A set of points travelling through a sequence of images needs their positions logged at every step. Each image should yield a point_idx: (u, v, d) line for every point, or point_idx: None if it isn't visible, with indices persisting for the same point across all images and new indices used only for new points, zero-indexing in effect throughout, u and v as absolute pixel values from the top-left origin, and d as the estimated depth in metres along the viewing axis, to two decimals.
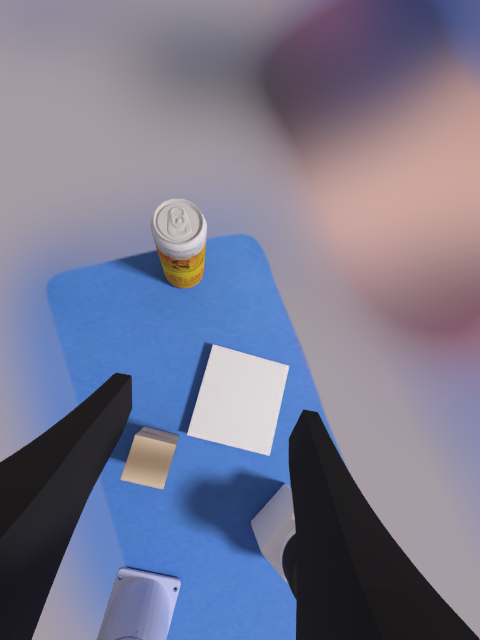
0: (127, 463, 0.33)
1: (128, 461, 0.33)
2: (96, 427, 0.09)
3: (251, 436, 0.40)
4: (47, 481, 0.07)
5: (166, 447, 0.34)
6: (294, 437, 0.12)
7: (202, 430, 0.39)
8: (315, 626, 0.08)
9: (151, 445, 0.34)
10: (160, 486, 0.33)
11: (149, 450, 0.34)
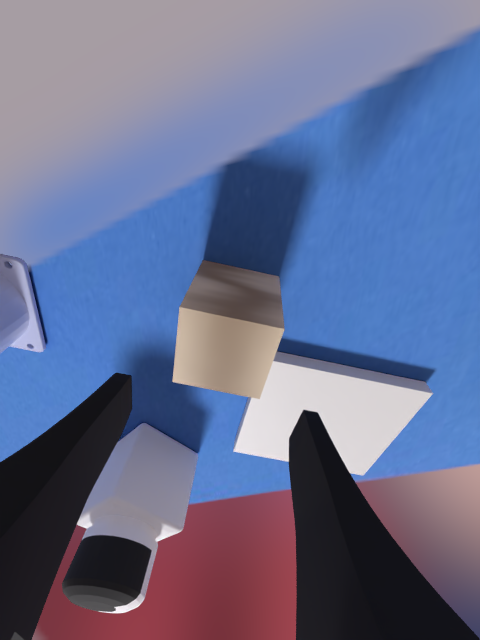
0: (217, 317, 0.13)
1: (221, 320, 0.13)
2: (96, 427, 0.09)
3: (259, 435, 0.25)
4: (47, 481, 0.07)
5: (254, 384, 0.15)
6: (294, 437, 0.12)
7: (272, 380, 0.22)
8: (315, 626, 0.08)
9: (257, 360, 0.14)
10: (177, 377, 0.16)
11: (247, 357, 0.14)
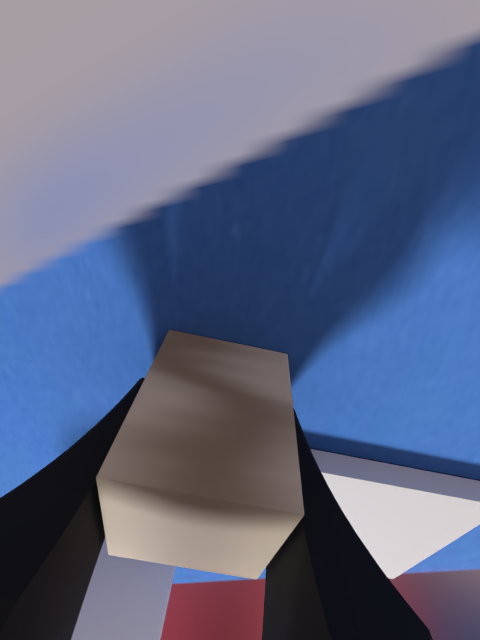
0: (172, 494, 0.07)
1: (181, 497, 0.07)
2: None
3: None
4: (89, 489, 0.07)
5: (247, 566, 0.09)
6: None
7: None
8: (278, 620, 0.07)
9: (253, 544, 0.08)
10: (115, 551, 0.09)
11: (234, 540, 0.08)
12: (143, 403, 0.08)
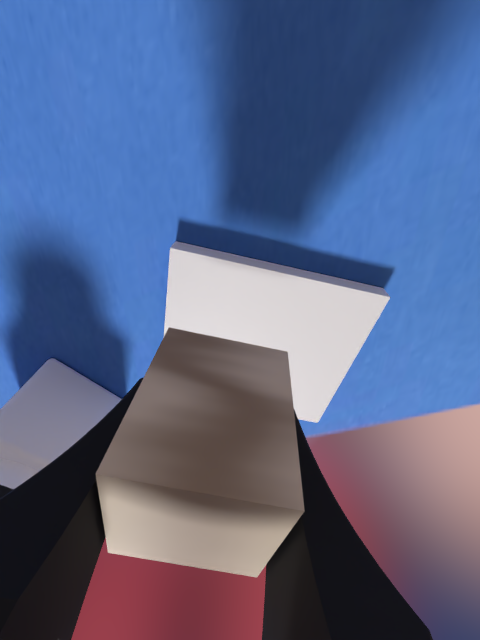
0: (171, 490, 0.07)
1: (181, 494, 0.07)
2: None
3: None
4: (90, 489, 0.07)
5: (247, 564, 0.09)
6: None
7: (186, 282, 0.17)
8: (277, 620, 0.07)
9: (253, 541, 0.08)
10: (115, 549, 0.09)
11: (234, 537, 0.08)
12: (143, 400, 0.08)
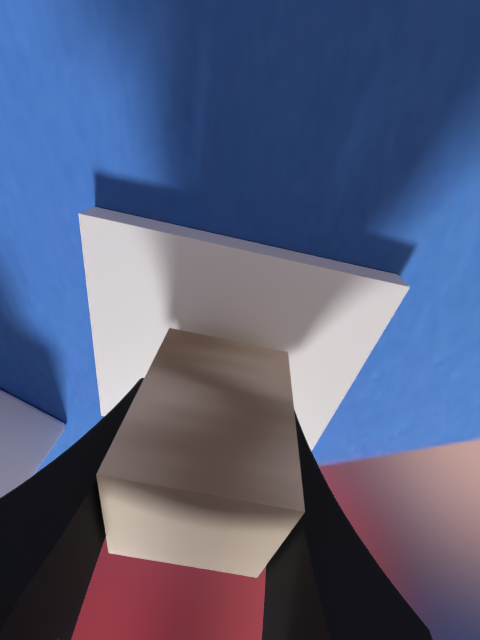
0: (172, 491, 0.07)
1: (182, 494, 0.07)
2: None
3: (131, 386, 0.15)
4: (89, 489, 0.07)
5: (248, 564, 0.09)
6: None
7: (110, 266, 0.12)
8: (277, 620, 0.07)
9: (253, 542, 0.08)
10: (115, 549, 0.09)
11: (235, 537, 0.08)
12: (143, 401, 0.08)
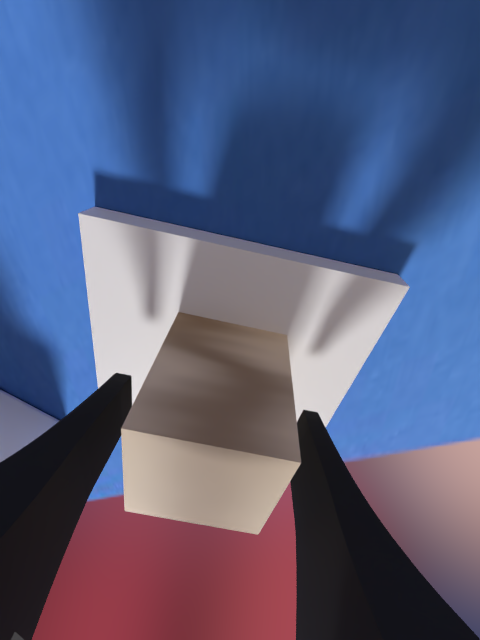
0: (186, 444, 0.08)
1: (194, 447, 0.08)
2: (96, 427, 0.09)
3: None
4: (47, 481, 0.07)
5: (250, 520, 0.10)
6: None
7: (110, 266, 0.12)
8: (315, 626, 0.08)
9: (256, 495, 0.09)
10: (131, 507, 0.10)
11: (239, 491, 0.09)
12: (158, 372, 0.09)
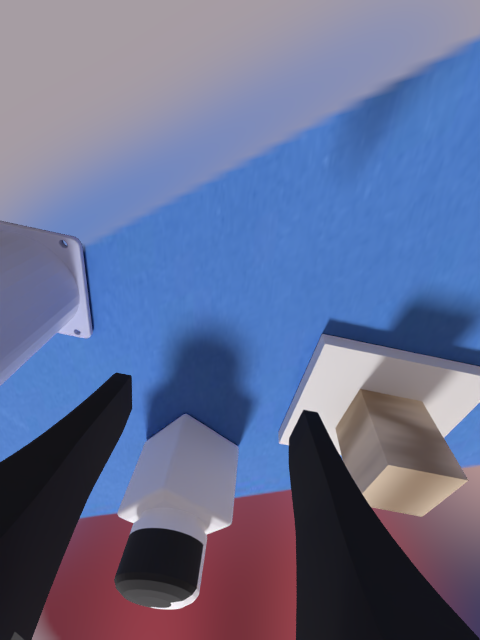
0: (415, 471, 0.17)
1: (419, 473, 0.17)
2: (96, 427, 0.09)
3: None
4: (47, 481, 0.07)
5: (423, 508, 0.19)
6: (294, 437, 0.12)
7: (330, 366, 0.21)
8: (315, 626, 0.08)
9: (434, 495, 0.18)
10: None
11: (427, 493, 0.18)
12: (380, 432, 0.19)
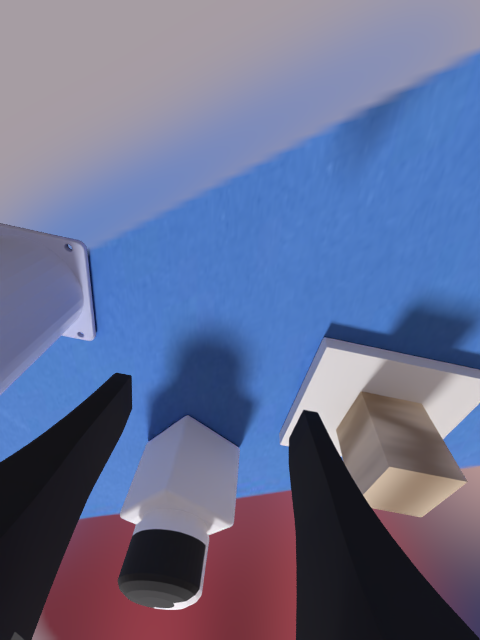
0: (416, 473, 0.17)
1: (419, 475, 0.17)
2: (96, 427, 0.09)
3: None
4: (47, 481, 0.07)
5: (422, 509, 0.19)
6: (294, 437, 0.12)
7: (331, 369, 0.21)
8: (315, 626, 0.08)
9: (434, 496, 0.18)
10: None
11: (427, 494, 0.18)
12: (381, 434, 0.19)
